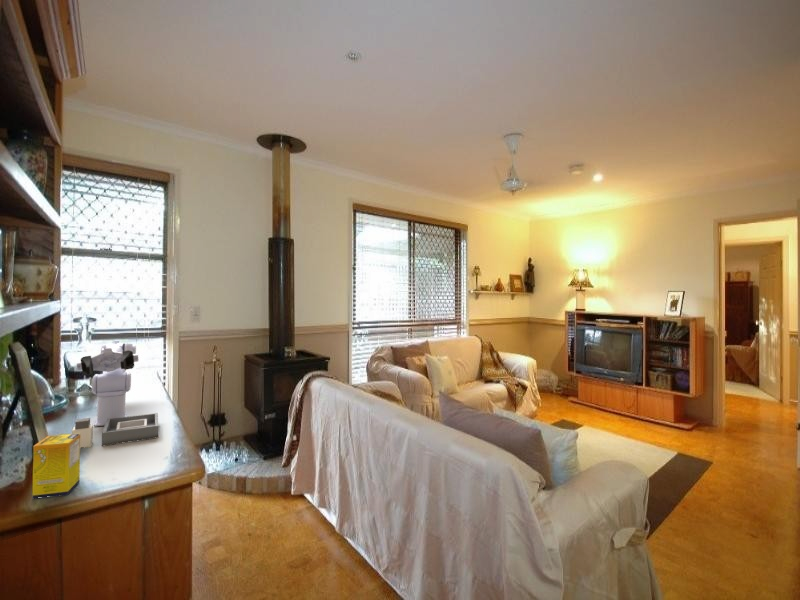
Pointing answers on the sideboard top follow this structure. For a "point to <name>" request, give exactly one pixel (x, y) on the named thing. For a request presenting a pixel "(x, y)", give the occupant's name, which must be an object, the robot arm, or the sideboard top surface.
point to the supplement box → (56, 465)
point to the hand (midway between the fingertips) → (105, 367)
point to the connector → (84, 431)
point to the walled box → (130, 428)
